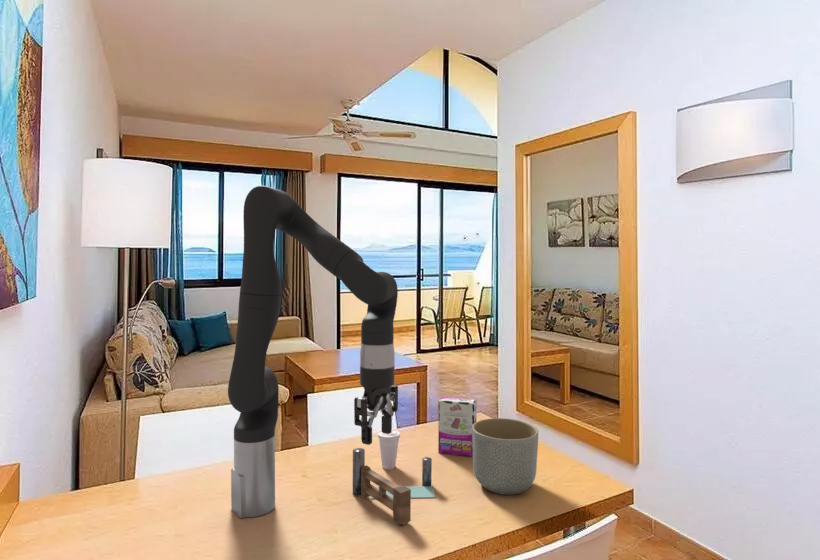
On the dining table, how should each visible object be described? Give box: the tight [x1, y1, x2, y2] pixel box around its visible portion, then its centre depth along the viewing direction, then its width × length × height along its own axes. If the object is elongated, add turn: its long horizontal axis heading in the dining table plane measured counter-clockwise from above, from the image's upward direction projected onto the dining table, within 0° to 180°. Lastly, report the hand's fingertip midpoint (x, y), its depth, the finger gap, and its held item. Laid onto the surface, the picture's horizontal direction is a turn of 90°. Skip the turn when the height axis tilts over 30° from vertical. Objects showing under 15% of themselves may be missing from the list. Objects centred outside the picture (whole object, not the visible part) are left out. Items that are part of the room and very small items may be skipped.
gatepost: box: [352, 447, 366, 497], centre depth 126 cm, size 3×3×11 cm
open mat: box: [370, 485, 436, 500], centre depth 127 cm, size 16×6×1 cm, turn 93°
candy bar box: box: [437, 396, 478, 458], centre depth 153 cm, size 11×5×16 cm, turn 73°
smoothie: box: [377, 427, 401, 471], centre depth 142 cm, size 6×6×14 cm
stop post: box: [421, 456, 433, 487], centre depth 131 cm, size 2×2×7 cm
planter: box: [472, 417, 539, 496], centre depth 131 cm, size 17×17×15 cm
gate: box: [360, 464, 412, 526], centre depth 118 cm, size 17×3×7 cm, turn 38°
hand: (377, 438), depth 110 cm, fingers open, 7 cm apart
